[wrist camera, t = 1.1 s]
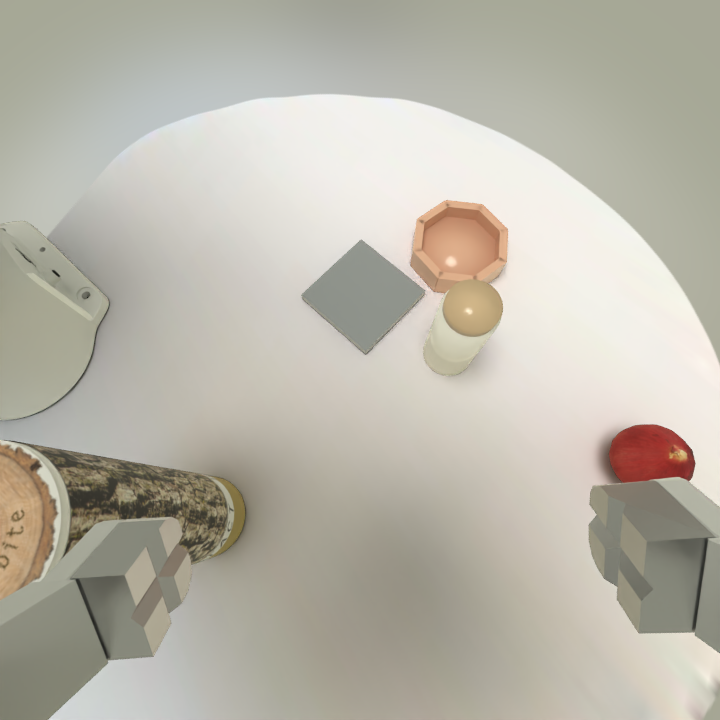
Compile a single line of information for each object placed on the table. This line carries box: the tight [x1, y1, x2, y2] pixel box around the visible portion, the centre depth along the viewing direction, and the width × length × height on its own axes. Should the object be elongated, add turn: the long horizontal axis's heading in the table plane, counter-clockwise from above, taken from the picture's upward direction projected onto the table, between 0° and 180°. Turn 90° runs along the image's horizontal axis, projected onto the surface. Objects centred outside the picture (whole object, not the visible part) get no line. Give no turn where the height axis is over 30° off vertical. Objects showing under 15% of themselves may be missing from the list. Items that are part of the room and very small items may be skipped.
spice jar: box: [423, 279, 503, 376], centre depth 38 cm, size 5×5×11 cm
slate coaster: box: [302, 240, 425, 355], centre depth 45 cm, size 9×9×1 cm
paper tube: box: [0, 440, 245, 600], centre depth 27 cm, size 7×7×25 cm
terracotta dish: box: [411, 200, 508, 293], centre depth 45 cm, size 9×9×3 cm
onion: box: [609, 424, 695, 483], centre depth 36 cm, size 6×6×8 cm
